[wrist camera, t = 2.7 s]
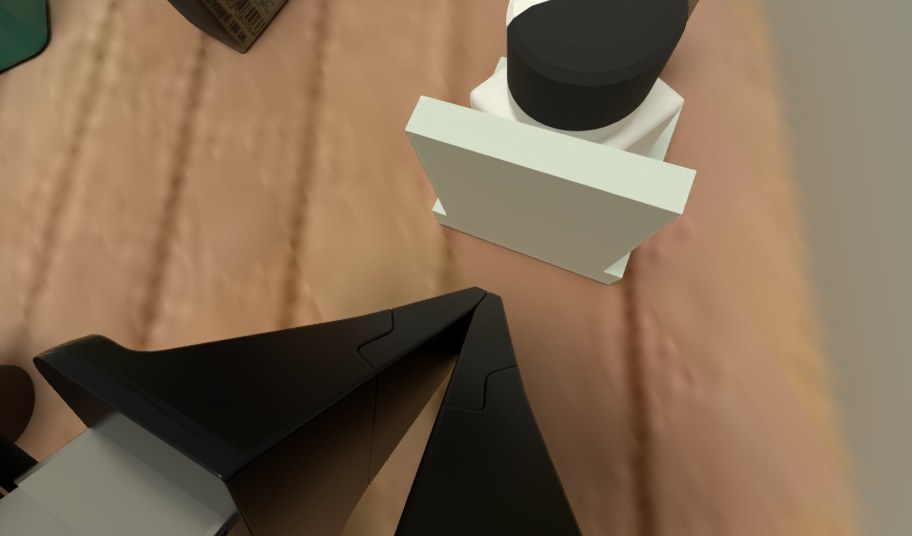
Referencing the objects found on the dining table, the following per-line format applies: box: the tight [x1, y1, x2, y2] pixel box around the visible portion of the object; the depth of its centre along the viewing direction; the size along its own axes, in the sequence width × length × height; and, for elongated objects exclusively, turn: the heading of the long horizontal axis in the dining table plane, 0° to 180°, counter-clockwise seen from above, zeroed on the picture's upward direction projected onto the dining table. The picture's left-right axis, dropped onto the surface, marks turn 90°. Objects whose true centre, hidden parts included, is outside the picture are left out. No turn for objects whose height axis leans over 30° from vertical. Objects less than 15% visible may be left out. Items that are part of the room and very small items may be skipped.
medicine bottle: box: [470, 0, 689, 157], centre depth 17 cm, size 7×7×12 cm
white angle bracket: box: [405, 57, 696, 285], centre depth 17 cm, size 12×12×11 cm
